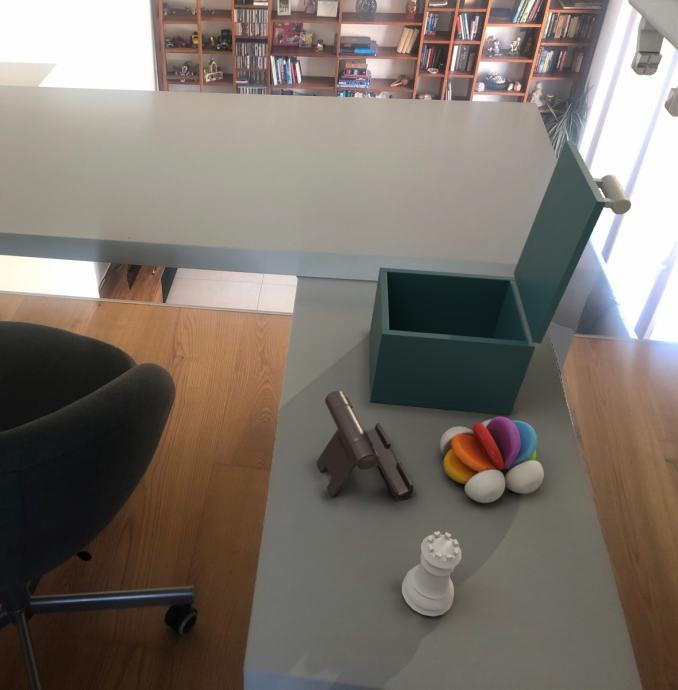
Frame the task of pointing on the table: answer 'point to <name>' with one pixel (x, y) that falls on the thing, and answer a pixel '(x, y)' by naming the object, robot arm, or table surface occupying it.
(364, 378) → the table surface
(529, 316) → the lid
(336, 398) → the tablet stand
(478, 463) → the multicoloured rounded lobed piece
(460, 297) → the teal hinged box
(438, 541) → the rook chess piece
